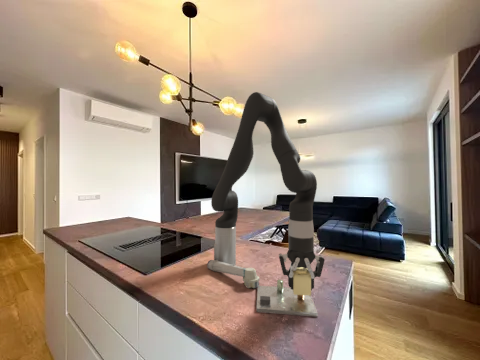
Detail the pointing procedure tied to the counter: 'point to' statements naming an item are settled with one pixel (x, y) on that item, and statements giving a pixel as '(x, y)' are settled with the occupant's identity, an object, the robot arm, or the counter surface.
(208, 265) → the white handheld device
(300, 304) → the plate
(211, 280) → the counter surface
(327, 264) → the counter surface
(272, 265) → the counter surface
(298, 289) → the cube with dome bump
